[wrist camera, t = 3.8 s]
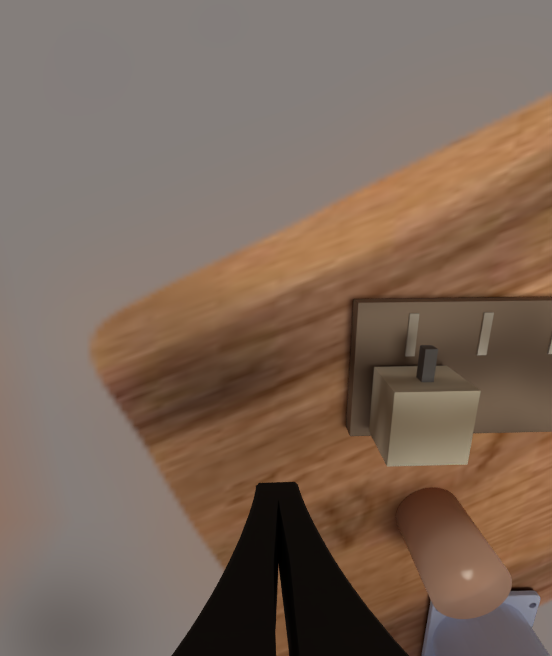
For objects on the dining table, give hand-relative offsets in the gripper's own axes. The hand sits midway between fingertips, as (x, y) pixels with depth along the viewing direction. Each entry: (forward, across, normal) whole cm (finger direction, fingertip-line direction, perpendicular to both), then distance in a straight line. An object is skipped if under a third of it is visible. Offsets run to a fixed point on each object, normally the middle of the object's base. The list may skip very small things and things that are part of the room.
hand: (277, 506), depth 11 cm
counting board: (+9, -16, -1) cm, 18 cm away
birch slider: (+7, -7, -1) cm, 10 cm away
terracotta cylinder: (+9, -10, +10) cm, 17 cm away
